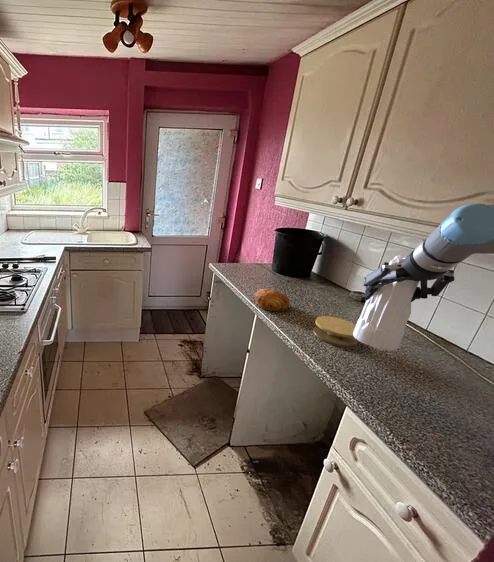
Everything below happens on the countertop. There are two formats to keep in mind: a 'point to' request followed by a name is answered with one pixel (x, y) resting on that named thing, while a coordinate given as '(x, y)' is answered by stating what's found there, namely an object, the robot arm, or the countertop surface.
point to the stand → (335, 331)
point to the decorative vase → (386, 314)
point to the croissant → (271, 299)
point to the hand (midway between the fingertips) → (385, 297)
